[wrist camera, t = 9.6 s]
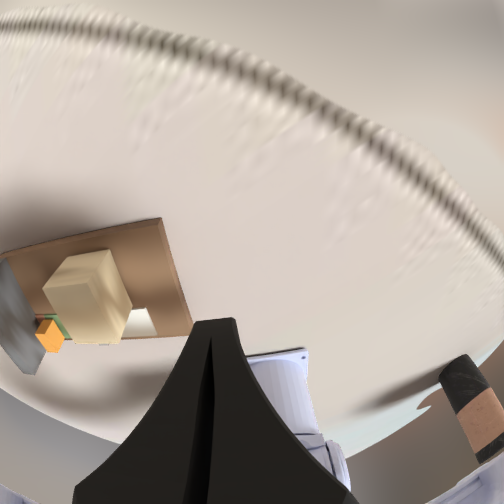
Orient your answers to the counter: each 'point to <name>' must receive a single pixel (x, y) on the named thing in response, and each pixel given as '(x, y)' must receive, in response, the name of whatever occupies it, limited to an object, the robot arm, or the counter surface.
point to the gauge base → (130, 270)
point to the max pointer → (50, 336)
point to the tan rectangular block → (90, 298)
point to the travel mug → (474, 406)
